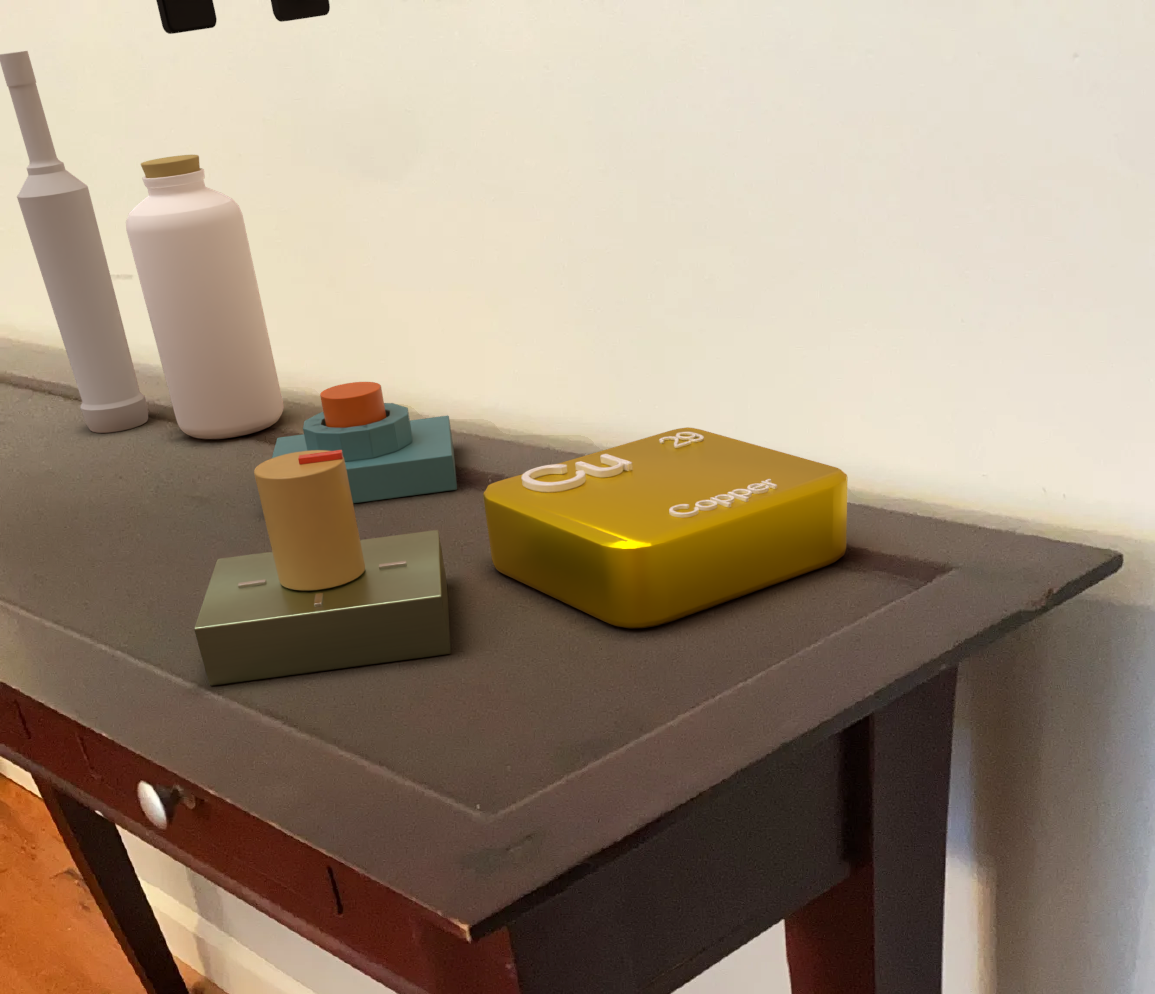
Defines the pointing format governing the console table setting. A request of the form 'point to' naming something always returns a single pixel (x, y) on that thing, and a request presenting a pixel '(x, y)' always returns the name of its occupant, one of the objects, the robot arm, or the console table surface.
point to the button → (353, 404)
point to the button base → (385, 453)
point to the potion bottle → (203, 303)
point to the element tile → (666, 525)
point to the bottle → (73, 266)
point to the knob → (310, 519)
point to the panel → (325, 614)
